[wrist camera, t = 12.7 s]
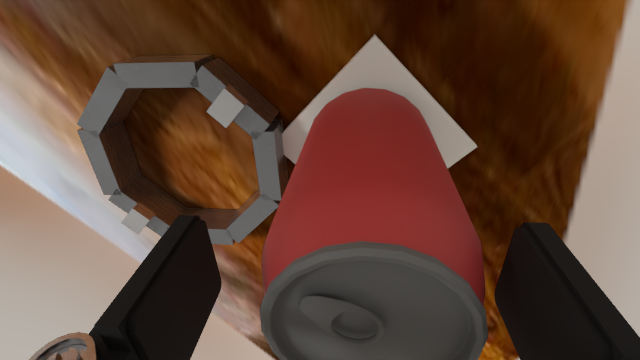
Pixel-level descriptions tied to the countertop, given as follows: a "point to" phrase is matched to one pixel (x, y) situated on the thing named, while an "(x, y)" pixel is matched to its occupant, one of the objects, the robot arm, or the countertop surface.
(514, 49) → the countertop surface
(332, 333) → the beer can
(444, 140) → the plate
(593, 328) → the robot arm
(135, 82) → the collar
